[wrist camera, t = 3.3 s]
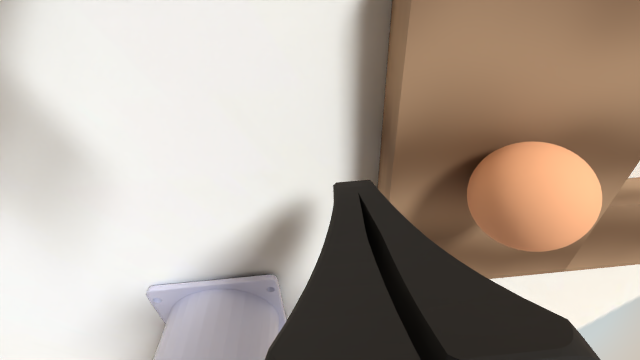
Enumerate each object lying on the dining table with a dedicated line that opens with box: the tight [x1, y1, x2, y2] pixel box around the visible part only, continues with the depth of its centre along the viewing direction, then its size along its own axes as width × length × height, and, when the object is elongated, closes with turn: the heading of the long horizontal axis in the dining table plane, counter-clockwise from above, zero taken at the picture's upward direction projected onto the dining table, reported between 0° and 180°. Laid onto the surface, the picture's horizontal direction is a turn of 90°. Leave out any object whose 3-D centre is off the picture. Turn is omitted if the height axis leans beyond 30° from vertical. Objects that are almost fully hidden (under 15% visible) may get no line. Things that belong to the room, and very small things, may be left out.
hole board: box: [378, 0, 640, 279], centre depth 13 cm, size 16×20×2 cm
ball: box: [467, 141, 602, 252], centre depth 11 cm, size 4×4×4 cm
